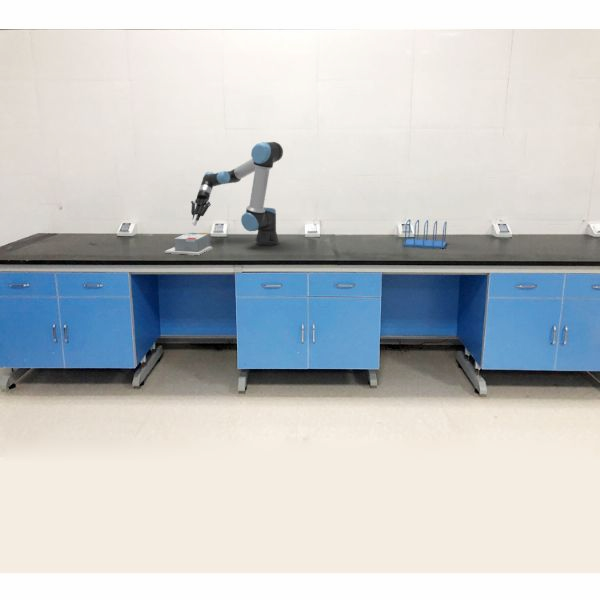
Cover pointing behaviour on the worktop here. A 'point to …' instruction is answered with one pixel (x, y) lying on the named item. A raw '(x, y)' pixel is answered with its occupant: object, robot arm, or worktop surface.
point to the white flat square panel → (188, 251)
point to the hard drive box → (192, 242)
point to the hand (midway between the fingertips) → (193, 224)
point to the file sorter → (423, 242)
